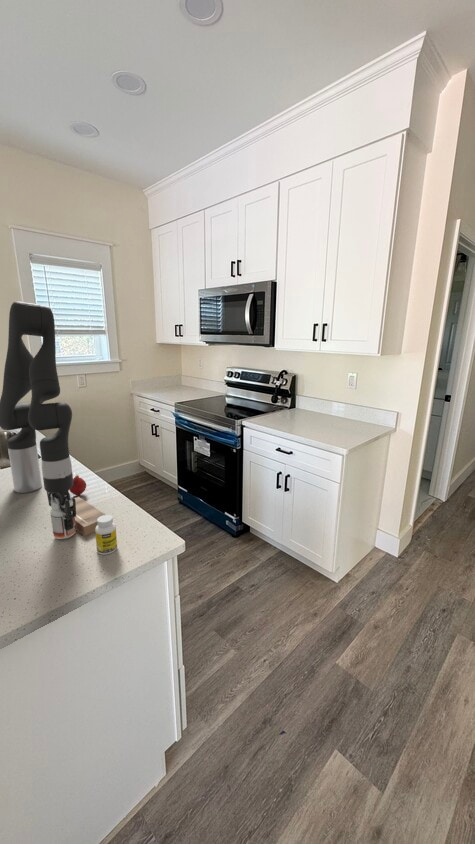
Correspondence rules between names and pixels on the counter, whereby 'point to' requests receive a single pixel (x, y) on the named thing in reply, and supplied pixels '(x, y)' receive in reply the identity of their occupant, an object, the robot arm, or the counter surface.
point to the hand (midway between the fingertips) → (64, 524)
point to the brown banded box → (86, 516)
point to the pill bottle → (60, 523)
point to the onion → (78, 486)
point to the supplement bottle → (105, 535)
